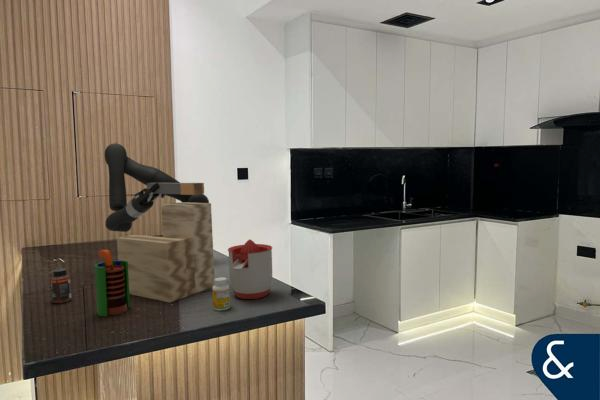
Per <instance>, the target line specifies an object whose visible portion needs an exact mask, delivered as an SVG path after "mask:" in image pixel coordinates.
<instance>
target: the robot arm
mask: <svg viewBox="0 0 600 400" xmlns="http://www.w3.org/2000/svg"><path fill="white" fill-rule="evenodd" d="M104 160H105V163H106V164H107V166H108V167H107V168H108V179H109V180H108V182H109V183H108V200H109V201H108V203H109V209H110V210H111V211H113V212H112V213H111V214H109V215H108V216H107V218H106V219H105V227H106V229H107V230H109V231H110V232H111V231H112V232H121V233H122V232H123V233H126V232H129V231H130V230H131V229H132V226H133V222H135V221H136V220H138V218H140V217H141V216H143V215H144V214H145V213H146V212H148V211H149V210H150V209H151V208H152V207H153V205H154V202H155V201H156V200H157V199H158V198H161V199H164V198H165V197H166V196H167V197H170V198H173V199H176V200H177V201H179V202H189V203H210V201H209V198H208V196H207V195H205V193H204V194H195V195H181V194H153V193H154V192H155V191H156V190H157V189H158V188H159V184H158V183H181V182H180V181H179V180H177V179H176V178H174V177H172V176H171V175H170V174H168V173H166V172H164V171H162V170H161V169H160V168H157V167H154V166H150V165H145V164H141V163H139V162H137V161H136V160H134V159H132V158H130V157H129V156H128V154H127V150H126V148H125V147H124V146H123V145H122V144H120V143H116V142H114V143H110V144H108V146H106V148H105V151H104ZM125 175H127V176H129V177H131V178H133V179H135V180H136V181H138V182H139V183H141V184H143V185H144V186H146V187H145V188H143V189H141V190H140V191H138V192H136V193H135V194H134V195H133V198H131V200H129V202H128V203H127V200H128V199H127V188H126V180H125ZM147 183H155V184H154V185H153V186H152V187H149V188H148V189H147Z"/></svg>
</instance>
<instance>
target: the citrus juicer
mask: <svg viewBox="0 0 600 400" xmlns="http://www.w3.org/2000/svg"><path fill="white" fill-rule="evenodd" d="M272 249H273V246H272V245H269V244H261V243H255V241H253V240H252V239H248V240H246V242H245V243H244V244H239V245H234V246H230V247H229V248H227V251H228V266H229V267H228V269H229V270H228V271H229V280H230V285H231V288H232V291H233V293H234V295H235V297H236V298H239V299H243V300H245V299H246V300H258V299H261V298H263V297H266V296H267V295H269V292H270V289H271V285H272V282H273V281H272V280H273V257H272V256H273V252H272Z"/></svg>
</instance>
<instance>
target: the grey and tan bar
mask: <svg viewBox="0 0 600 400" xmlns="http://www.w3.org/2000/svg"><path fill="white" fill-rule="evenodd" d="M154 184H155V183H147V186H146V188H147V189H148V188H149V187H152V186H153V185H154ZM158 184H159V188H158V189H157V190H156V191H155V192H154V193H153V194H181V195H195V194H204V195H205V183H204V182H180V183H158Z"/></svg>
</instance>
